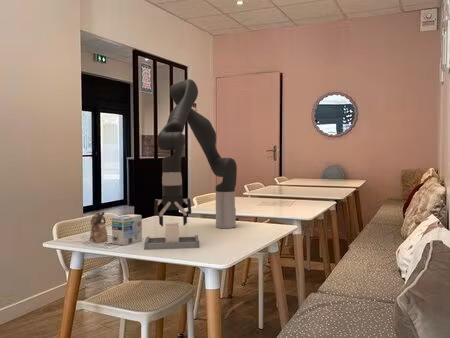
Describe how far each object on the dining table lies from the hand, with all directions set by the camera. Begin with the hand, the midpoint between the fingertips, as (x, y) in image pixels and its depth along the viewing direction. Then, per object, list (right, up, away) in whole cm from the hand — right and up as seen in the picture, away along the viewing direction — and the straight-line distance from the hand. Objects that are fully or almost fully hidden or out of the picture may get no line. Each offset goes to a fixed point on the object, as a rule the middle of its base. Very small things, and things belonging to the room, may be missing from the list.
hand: (173, 225), depth 168 cm
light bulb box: (-19, -8, +6) cm, 22 cm away
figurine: (-32, -8, +9) cm, 34 cm away
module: (0, -8, 0) cm, 8 cm away
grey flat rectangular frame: (0, -8, 0) cm, 8 cm away
